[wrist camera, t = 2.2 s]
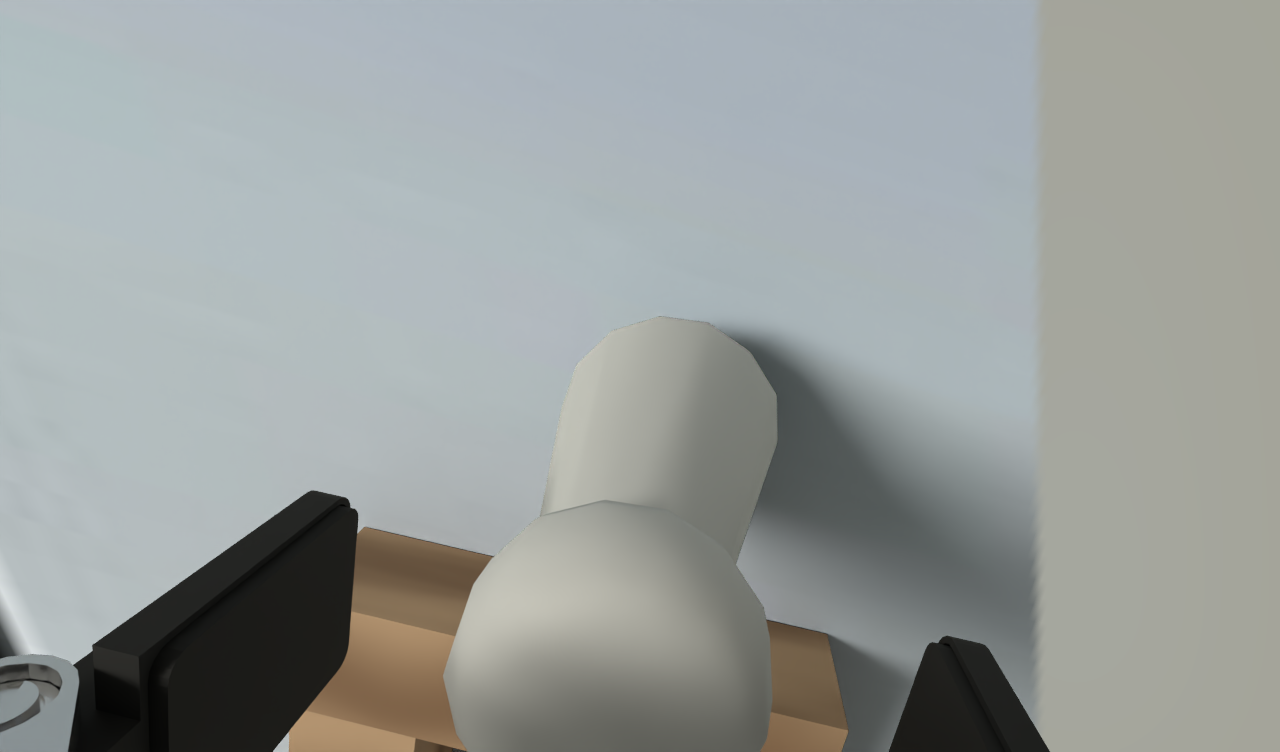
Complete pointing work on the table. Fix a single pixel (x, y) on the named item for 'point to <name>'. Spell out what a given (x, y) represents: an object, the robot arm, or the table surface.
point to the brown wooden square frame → (421, 644)
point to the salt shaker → (631, 564)
